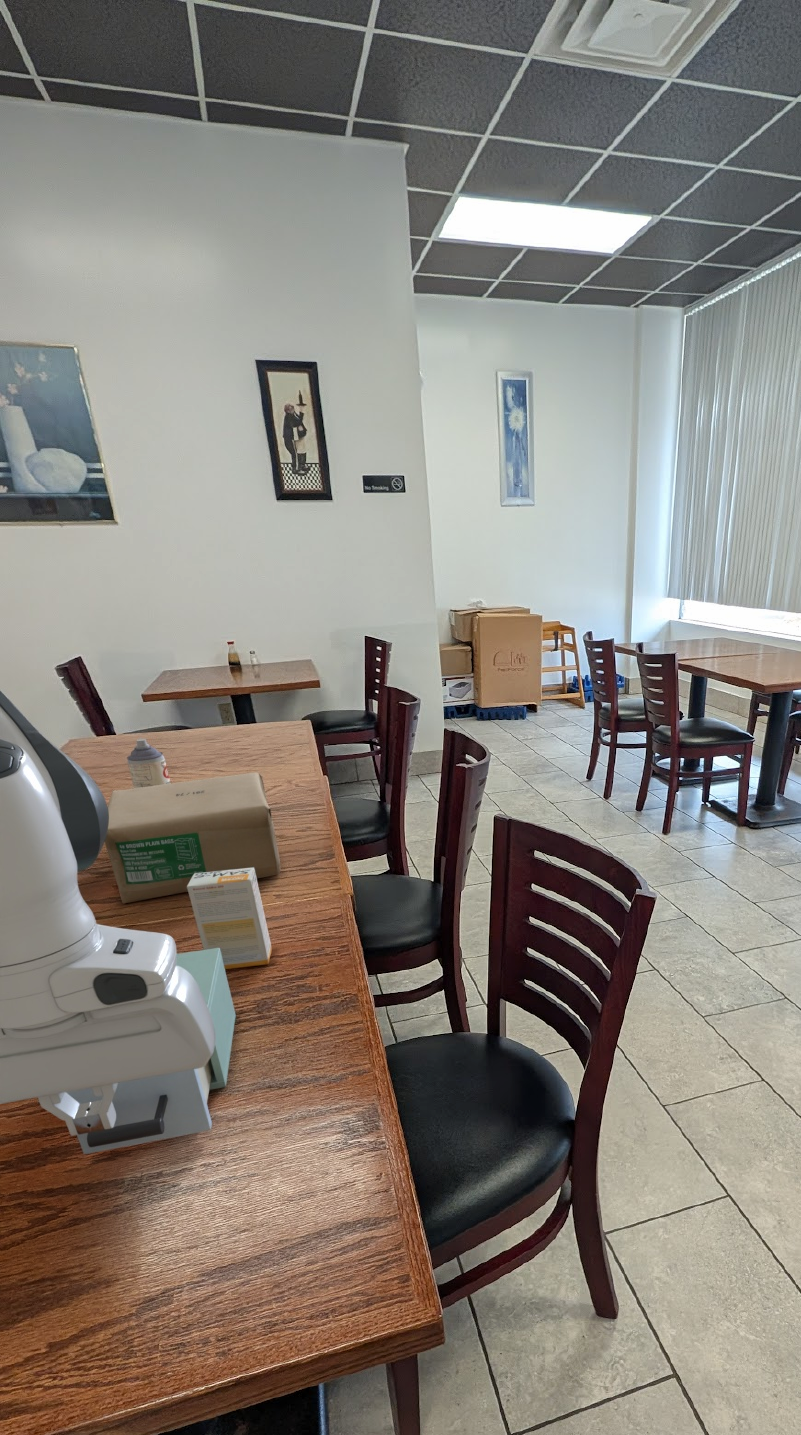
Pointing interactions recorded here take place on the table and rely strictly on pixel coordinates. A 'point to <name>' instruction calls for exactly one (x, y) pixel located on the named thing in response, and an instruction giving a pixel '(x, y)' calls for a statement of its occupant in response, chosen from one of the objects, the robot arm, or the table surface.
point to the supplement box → (231, 916)
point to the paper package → (189, 833)
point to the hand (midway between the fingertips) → (95, 1127)
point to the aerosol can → (147, 766)
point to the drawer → (152, 1109)
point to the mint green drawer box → (214, 1005)
